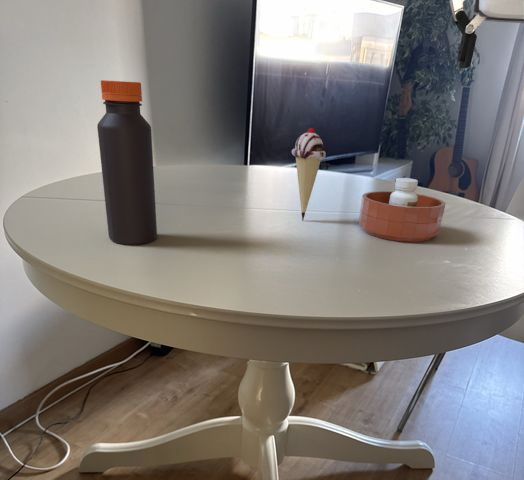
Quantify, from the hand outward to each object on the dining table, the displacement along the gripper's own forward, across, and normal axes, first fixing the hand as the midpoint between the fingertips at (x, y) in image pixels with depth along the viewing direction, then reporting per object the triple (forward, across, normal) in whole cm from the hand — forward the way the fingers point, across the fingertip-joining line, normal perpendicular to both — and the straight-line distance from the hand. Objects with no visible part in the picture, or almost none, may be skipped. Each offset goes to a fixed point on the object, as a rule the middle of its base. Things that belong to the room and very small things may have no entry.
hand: (497, 69), depth 69 cm
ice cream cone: (+24, -26, +4) cm, 36 cm away
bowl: (+24, -10, 0) cm, 26 cm away
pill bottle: (+24, -10, 0) cm, 26 cm away
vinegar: (+24, -51, -14) cm, 58 cm away
